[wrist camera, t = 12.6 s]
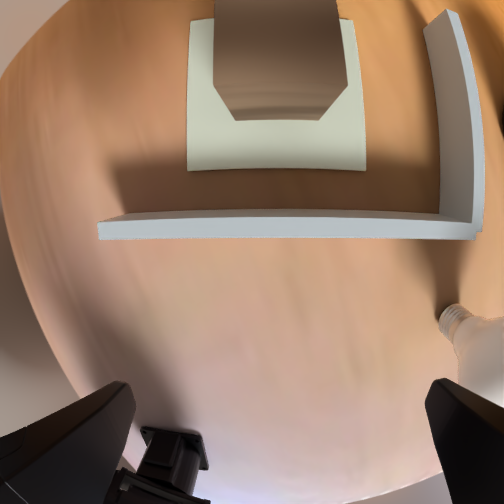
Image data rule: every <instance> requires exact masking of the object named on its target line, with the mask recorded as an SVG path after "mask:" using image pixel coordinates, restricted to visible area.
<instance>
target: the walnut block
mask: <svg viewBox="0 0 504 504" xmlns="http://www.w3.org/2000/svg"><path fill="white" fill-rule="evenodd" d="M213 86H214V88H215V89H216V91H217V92H218V94H219V96H220V97H221V99H222V100H223V102H224V103H225V105H226V107H227V108H228V110H229V111H230V113H231V115H232V116H233V118H234V119H235V121H247V120H314V121H319V120H320V118H321V117H322V116H323V115H324V114H325V112H326V111H327V110H328V109H329V108H330V106H331V105H332V104H333V103H334V102H335V100H336V99H337V98H338V97H339V96H340V94H341V93H342V92H343V91H344V90H345V89H346V87H347V86H348V80H347V70H346V62H345V54H344V46H343V39H342V32H341V26H340V20H339V14H338V9H337V3H336V0H215V7H214V39H213Z"/></svg>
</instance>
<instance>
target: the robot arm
mask: <svg viewBox="0 0 504 504" xmlns="http://www.w3.org/2000/svg"><path fill="white" fill-rule="evenodd" d="M135 409H136V403H135V399H134V396H133V393H132V390H131V387H130V385H129V384H128V383H126V382H121V381H114V382H112V383H110V384H108V385H107V386H105V387H103V388H101V389H99V390H97V391H95V392H93V393H92V394H90V395H88V396H86V397H84V398H82V399H80V400H78V401H76V402H74V403H72V404H70V405H69V406H66V407H65V408H63V409H61V410H59V411H57V412H55V413H53V414H51V415H49V416H46V417H44V418H43V419H40V420H39V421H36V422H34V423H32V424H30V425H28V426H27V427H23V428H21V429H19V430H17V431H15V432H12V433H10V434H8V435H5V436H3V437H0V504H210V502H211V501H210V500H206V499H200V498H197V497H194V496H192V494H193V490H194V486H195V482H196V478H197V474H198V470H208V468H209V465H208V461H207V456H206V452H205V448H204V444H203V440H202V438H201V437H200V436H197V435H190V434H183V433H177V432H170V431H164V430H159V429H154V428H149V427H141V429H140V432H141V434H142V437H143V439H144V441H145V444H146V446H147V449H146V451H145V453H144V456H143V458H142V460H141V462H140V465H139V467H138V469H137V472H136V474H135V473H133V472H131V471H129V470H128V469H126V468H124V467H122V469H121V471H120V470H116V468H117V466H118V463H119V460H120V458H121V456H122V453H123V451H124V448H125V445H126V441H127V437H128V434H129V430H130V427H131V423H132V420H133V416H134V413H135ZM425 409H426V412H427V416H428V420H429V424H430V428H431V432H432V437H433V441H434V445H435V448H436V451H437V454H438V457H439V460H440V463H441V466H442V469H443V472H444V475H445V479H446V482H447V485H448V489H449V492H450V496H451V500H452V503H453V504H504V408H503V407H501V406H499V405H497V404H495V403H493V402H491V401H489V400H487V399H485V398H483V397H481V396H480V395H478V394H476V393H474V392H472V391H470V390H468V389H466V388H464V387H462V386H460V385H458V384H456V383H455V382H453V381H451V380H449V379H447V378H441V379H437V380H434V381H433V383H432V385H431V387H430V390H429V392H428V395H427V397H426V399H425ZM120 488H122V489H124V490H121V489H120ZM125 490H126V491H125Z"/></svg>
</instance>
